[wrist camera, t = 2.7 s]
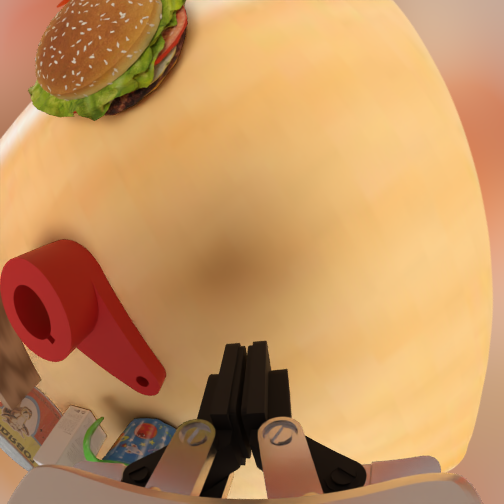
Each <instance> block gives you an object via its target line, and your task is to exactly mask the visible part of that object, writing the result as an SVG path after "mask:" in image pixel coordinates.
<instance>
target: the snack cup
mask: <svg viewBox="0 0 504 504" xmlns="http://www.w3.org/2000/svg"><path fill="white" fill-rule="evenodd" d="M103 419H104V417H101V418H99V419H98V420H97V421H95V422H94V423H93V424H92V425H91V426H90V427H89V428H88V430H87V431H86V434H85V436H84V440H83V452H84V456H85V458H86V460H87V461H92V462H104V463H123V464H124V465H125V466H128V465H129V464H131V463H132V462H135V461H137V460H139V459H141V458H143V457H145V456H147V455H149V454H151V453H153V452H155V451H157V450H159V449H161V448H163V447H165V446H167V445H168V444H169V442H170V441H171V439H172V437H173V435H174V433H175V431H176V429H175V428H173V427H172V426H170V425H168V424H165V423H163V422H162V421H160V420H158V419H151V418H139V419H134V420H133V421H132V422H131V423H130V424H129V425H128V426H127V428H126V429H125V431H124V432H123V433H122V434H121V435H120V437H119V438H118V439H117V441H116V442H115V443H114V445H113V446H112V447H111V449H110V450H109V451H108V453H107V454H106V456H105V457H104V458H103V459H102V460H99V459H97V458H96V456H95V455H94V454H93V452H92V451H91V449H90V444H91V437H92V435H93V434H94V432H95V430H96V429H97V427H98V426H99V424H100V423H101V422H102V420H103Z"/></svg>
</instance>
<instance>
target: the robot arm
mask: <svg viewBox="0 0 504 504" xmlns="http://www.w3.org/2000/svg"><path fill="white" fill-rule="evenodd" d="M251 450H252V453H253V456H254V459H255V462H256V465H257V467H258V468H259V469H260V470H262V471H263V473H264V479H265V485H266V491H267V497H268V499H227V496H228V493H229V490H230V487H231V484H232V481H233V478H234V471H236V470H237V469H238V468H240V465H245V462H246V458H250V457H251ZM7 504H483V502H482V500H481V498H480V496H479V495H478V493H477V491H476V489H475V488H474V487H473V485H472V484H471V483H470V482H469V481H468V480H467V479H466V478H464V477H463V476H461V475H458V474H453V473H441V468H440V464H439V462H438V461H437V460H436V459H435V458H434V457H431V456H419V457H412V458H406V459H398V460H389V461H377V462H372V464H364V465H361V464H360V463H358V462H356V461H354V460H352V459H350V458H348V457H346V456H343V455H341V454H339V453H337V452H335V451H333V450H331V449H329V448H327V447H325V446H324V445H322V444H320V443H318V442H316V441H314V440H312V439H310V438H309V437H307V436H305V435H304V432H303V429H302V426H301V425H300V423H299V422H297V421H296V420H295V419H292V416H291V402H290V390H289V380H288V371H287V369H283V370H273V371H271V366H270V359H269V353H268V346H267V341H258V342H253V345H251V346H248V353H246V348H245V346H241V345H240V343H235V344H226V347H225V351H224V355H223V359H222V364H221V368H220V372H219V374H211V375H209V378H208V381H207V385H206V388H205V392H204V396H203V399H202V403H201V406H200V410H199V414H198V417H197V419H194V420H189V421H187V422H184V423H183V424H181V425H180V426H179V427H178V428H177V430H176V431H175V433H174V435H173V437H172V439H171V441H170V442H169V444H168V445H167V446H165V447H163V448H161V449H159V450H157V451H155V452H153V453H151V454H149V455H147V456H145V457H143V458H141V459H139V460H137V461H135V462H132V463H131V464H129V465H128V466H125V465H124V464H123V463H104V462H92V461H80V462H78V463H76V464H75V465H74V466H73V467H69V466H63V465H40V466H36V467H34V468H33V469H31V470H30V471H29V472H28V473H27V474H26V475H25V477H24V478H23V479H22V480H21V482H20V483H19V485H18V486H17V488H16V489H15V491H14V493H13V495H12V496H11V498H10V500H9V501H8V503H7Z"/></svg>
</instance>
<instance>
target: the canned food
mask: <svg viewBox="0 0 504 504" xmlns="http://www.w3.org/2000/svg"><path fill="white" fill-rule="evenodd" d="M61 417H62V414H61V413H60V411H59V410H58V409H57V407H56V406H55V405H54V404H53V403H52V402H51V400H50V399H49V398H48V397H47V396H46V395H45V394H43V393H42V392H41V391H40V390H39V389H38V388H36V387H34V388H33V389H32V390H31V391H30V392H29V393H28V394H27V396H26V397H25V398H24V399H23V400H22V401H21V402H20V403H19V404H18V406H17V407H16V408H15V409H14V410H13V411H12V410H10V409H8V408H6V407H4V406H3V404H2V403H1V401H0V448H1V449H2V450H3V451H4V452H5V453H6V454H7V455H8V456H10V457H11V458H12V459H13V460H14V461H15V462H17V463H18V464H19V465H20V466H22V467H23V468H24V469H26V470H27V471H30V470H31V469H33V468H34V467H36V466H39V465H38V464H37V463H36V462H35V461H34V460H33V457H34V456H35V454H36V453H37V452H38V450H39V449H40V447H41V446H42V444H43V443H44V441H45V440H46V438H47V437H48V436H49V434H50V433H51V431H52V430H53V428H54V427H55V426H56V424H57V423H58V421H59V420H60V419H61Z"/></svg>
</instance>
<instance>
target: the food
mask: <svg viewBox="0 0 504 504" xmlns="http://www.w3.org/2000/svg"><path fill="white" fill-rule="evenodd" d="M185 1H186V0H70V1H69V2H68V3H67V4H66V5H65V6H64V7H63V9H61V11H59V12H58V13H57V15H56V16H55V17H54V18H53V19H52V21H51V22H50V24H49V26H48V27H47V29H46V31H45V32H44V34H43V36H42V39H41V41H40V43H39V45H38V46H39V47H38V49H37V54H36V58H35V61H36V77H37V81H36V83H35V85H34V86H33V87H31V88H29V90H28V91H29V93H30V94H31V99H32V102H33V105H34V106H35V107H36V108H37V109H38V110H41V111H43V112H45V113H47V114H49V115H53V116H57V117H72V116H74V113H78V115H79V116H82V117H87V118H90V119H92V120H94V121H95V120H97V119H99V118H100V117H102V116H104V115H115V114H117V113H119V112H121V111H123V110H125V109H127V108H129V107H131V106H134V105H135V104H136V103H137V102H139V101H140V100H141V99H142V98H143V97H145V96H146V95H148V94H149V93H150V92H152V91H153V90H155V89H156V88H157V87H158V86H159V85H160V83H161V82H162V81H163V79H164V78H165V76H166V75H167V74H168V72H169V71H170V70H171V69H172V67H173V66H174V65H175V63H176V62H177V59H178V56H179V55H180V51H181V48H182V45H183V42H184V39H185V35H186V27H187V24H188V23H187V16H186V11H185V8H184V6H185Z"/></svg>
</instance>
